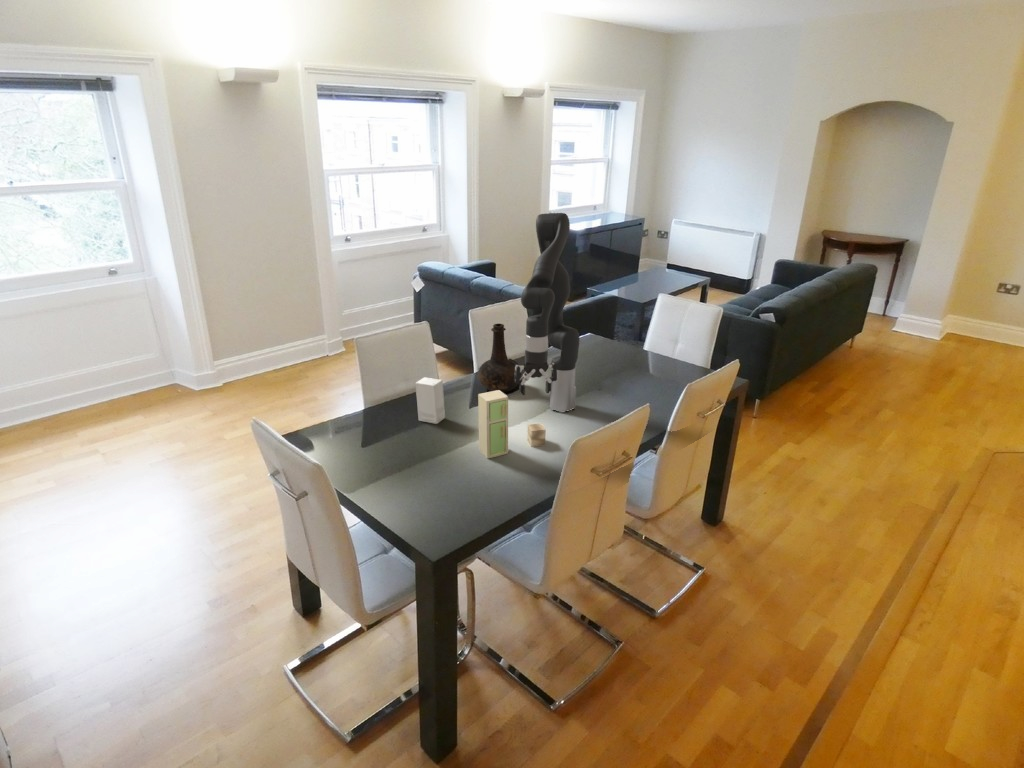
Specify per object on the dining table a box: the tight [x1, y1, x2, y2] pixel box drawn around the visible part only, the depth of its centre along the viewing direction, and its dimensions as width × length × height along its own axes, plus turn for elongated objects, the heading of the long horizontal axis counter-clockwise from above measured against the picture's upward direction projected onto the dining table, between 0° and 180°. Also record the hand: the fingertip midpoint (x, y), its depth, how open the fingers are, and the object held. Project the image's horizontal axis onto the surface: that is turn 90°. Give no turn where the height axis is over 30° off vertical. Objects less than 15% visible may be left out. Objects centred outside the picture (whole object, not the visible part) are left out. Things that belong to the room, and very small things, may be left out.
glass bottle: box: [477, 323, 522, 393], centre depth 257 cm, size 18×18×28 cm
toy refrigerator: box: [477, 390, 509, 459], centre depth 205 cm, size 8×7×21 cm
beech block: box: [526, 423, 547, 448], centre depth 215 cm, size 5×5×6 cm
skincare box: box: [415, 376, 446, 425], centre depth 230 cm, size 8×7×16 cm
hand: (535, 393), depth 210 cm, fingers open, 8 cm apart
